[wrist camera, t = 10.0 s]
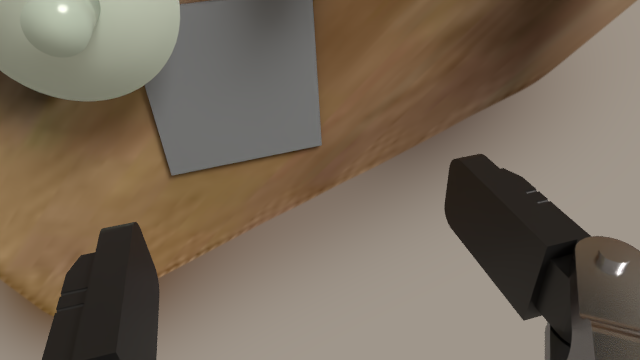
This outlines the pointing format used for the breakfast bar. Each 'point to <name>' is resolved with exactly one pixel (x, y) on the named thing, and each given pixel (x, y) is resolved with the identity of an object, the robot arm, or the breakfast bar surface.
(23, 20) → the lid
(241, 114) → the mat
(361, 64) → the breakfast bar surface
